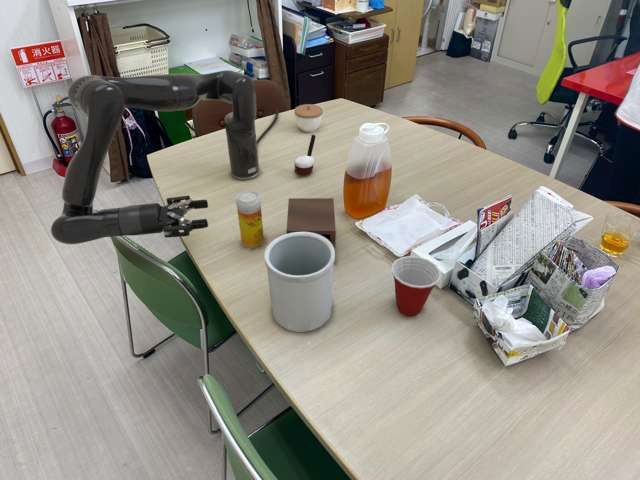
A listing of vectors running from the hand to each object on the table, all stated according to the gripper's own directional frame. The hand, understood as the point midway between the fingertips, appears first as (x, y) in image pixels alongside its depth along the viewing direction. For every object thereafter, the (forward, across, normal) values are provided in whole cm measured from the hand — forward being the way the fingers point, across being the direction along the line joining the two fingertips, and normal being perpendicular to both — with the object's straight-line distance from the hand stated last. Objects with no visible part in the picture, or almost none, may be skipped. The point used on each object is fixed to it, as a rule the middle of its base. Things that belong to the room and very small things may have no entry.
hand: (207, 213), depth 117 cm
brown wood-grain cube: (+26, -5, +11) cm, 29 cm away
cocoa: (+31, +33, +11) cm, 46 cm away
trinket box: (+37, +66, +11) cm, 76 cm away
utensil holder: (+20, -26, +12) cm, 35 cm away
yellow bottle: (+11, 0, +11) cm, 16 cm away
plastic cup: (+45, -30, +11) cm, 55 cm away
